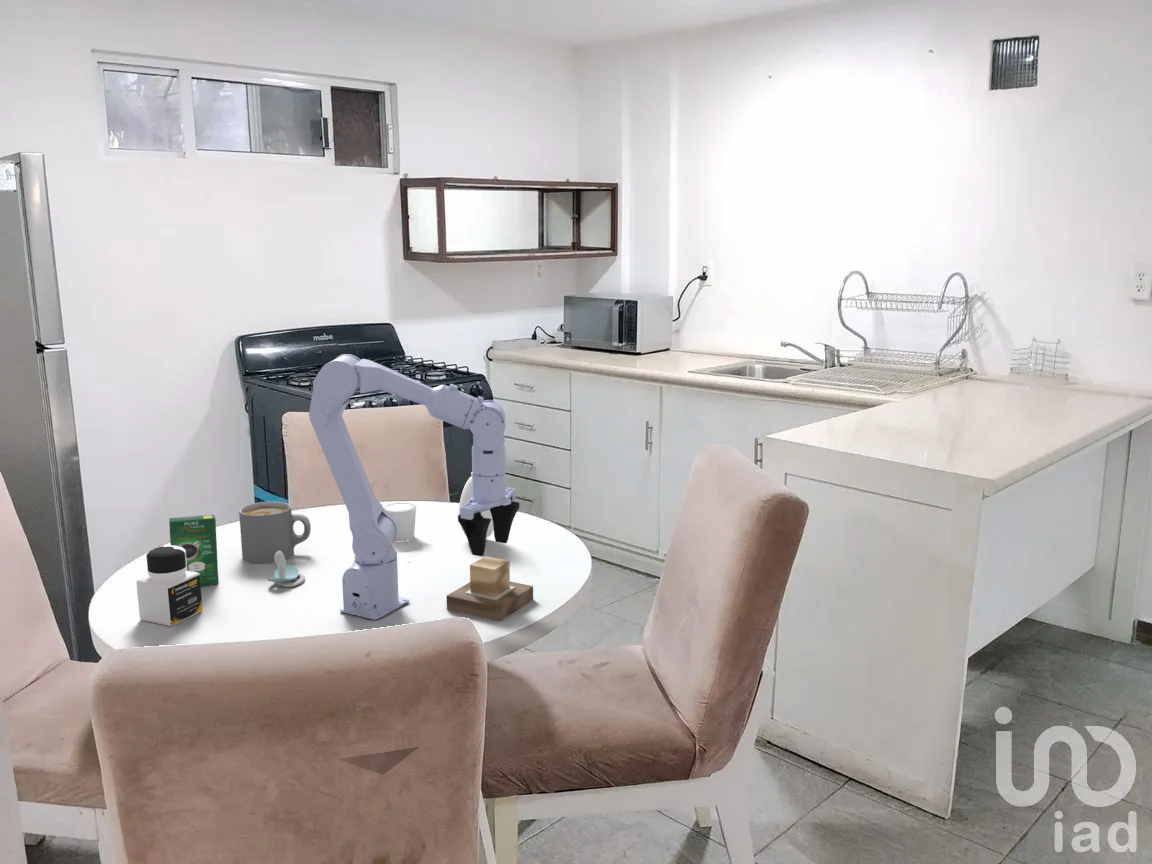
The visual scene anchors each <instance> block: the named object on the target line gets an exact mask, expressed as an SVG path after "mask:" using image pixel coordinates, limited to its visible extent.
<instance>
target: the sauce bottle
mask: <svg viewBox="0 0 1152 864" xmlns="http://www.w3.org/2000/svg"><path fill="white" fill-rule="evenodd" d="M470 475H471V476H470V477H468V479H467V481H466V483H465V484H464V487H463V489H462V493H461V495H460V499H459V500H460V501H459V506H458V515H459V514H461V507H462V506H464V505H465V504H466V503H467V502H468V501H469V500H470V499H471V498H472V497H473V493H472V471H471V473H470ZM481 516H483V518H489V519H491V521H490V524H489V526H488V530H487V534H486V540H487V539H488V537H490V536H491V535H492V533H494V527H493V520H492V515H491V512H490V509H488V510H486V511H484V512H482V513H481ZM459 525H460V527H461V530H462V532H463V534H464V535H465V536H466V534H465V531H464V530H463V528H462V526H461V524H460V523H459Z"/></svg>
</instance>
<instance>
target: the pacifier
mask: <svg viewBox="0 0 1152 864" xmlns="http://www.w3.org/2000/svg"><path fill="white" fill-rule="evenodd" d="M274 561H275V563H274V564H275V565H276V566H277V568H275V570H274V572H273V578H268V579H267V581H269V582H273V583H274V582H275V583H276V584H277V586H279V587H280V586H281V587H284V588H293V587H297V586H299V585H300V584H302V583H303V582H304V581H305V579H306V578H305V575H304V574H302V573H299V569H298V568H297V567H296V566H295V565H293V564H289V563H287V562H286V560H285V557H284V555H283V553H282V551H278V552H276V554H275V556H274ZM297 578H298V580H296V579H297ZM293 580H296V581H293ZM292 581H293V582H292Z"/></svg>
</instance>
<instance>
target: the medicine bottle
mask: <svg viewBox="0 0 1152 864" xmlns="http://www.w3.org/2000/svg"><path fill="white" fill-rule="evenodd" d="M146 565H147V576H145V577H142V578H140V579H137V580H136V582H135V583H136V591H137V603H138V613H139V620H140V621H143V622H149V623H151V624H152V623H153V624H159V625H161V626H162V625H163V626H169V627H173V626H175V625H178V624H180V623H181V622H184V621H186V620H188V619H190V618H192V617H194V616H196V615H198V614H200V613H202V612H203V599H202V586H201V585H200V574H199V573H197V572H191V571H187V561H186V550H185V549H184V548H182V547H179V546H174V545H171V544H170V545H161V546H158V547H155V548H153V549H151V550H149V551H148V553H147V554H146Z"/></svg>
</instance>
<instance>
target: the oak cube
mask: <svg viewBox="0 0 1152 864" xmlns="http://www.w3.org/2000/svg"><path fill="white" fill-rule="evenodd" d="M510 566H511V565H510V560H506V559H502V558H496V557H492V556H484V557H482V558H480V559H478V560H476V561H474V562H472V563H471V564H469V582H470V592H473V593H478V594H482V595H487V596H492V597H496V596H497V595H499V594H500V593H502V592H504V591H505V590H507V589H508V588H510V582H511V580H510V579H511V577H510V576H511V572H510V571H511V570H510Z"/></svg>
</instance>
